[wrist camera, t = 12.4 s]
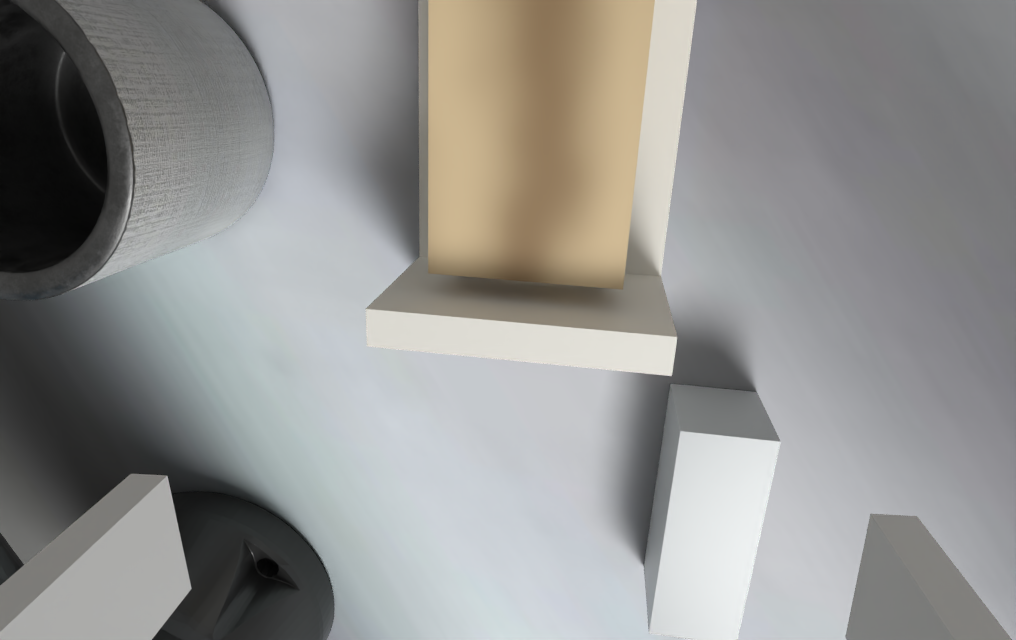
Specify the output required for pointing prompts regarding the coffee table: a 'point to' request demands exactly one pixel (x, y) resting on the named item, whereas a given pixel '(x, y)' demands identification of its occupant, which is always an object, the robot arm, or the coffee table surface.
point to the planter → (121, 137)
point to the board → (534, 137)
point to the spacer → (707, 511)
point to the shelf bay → (555, 307)
